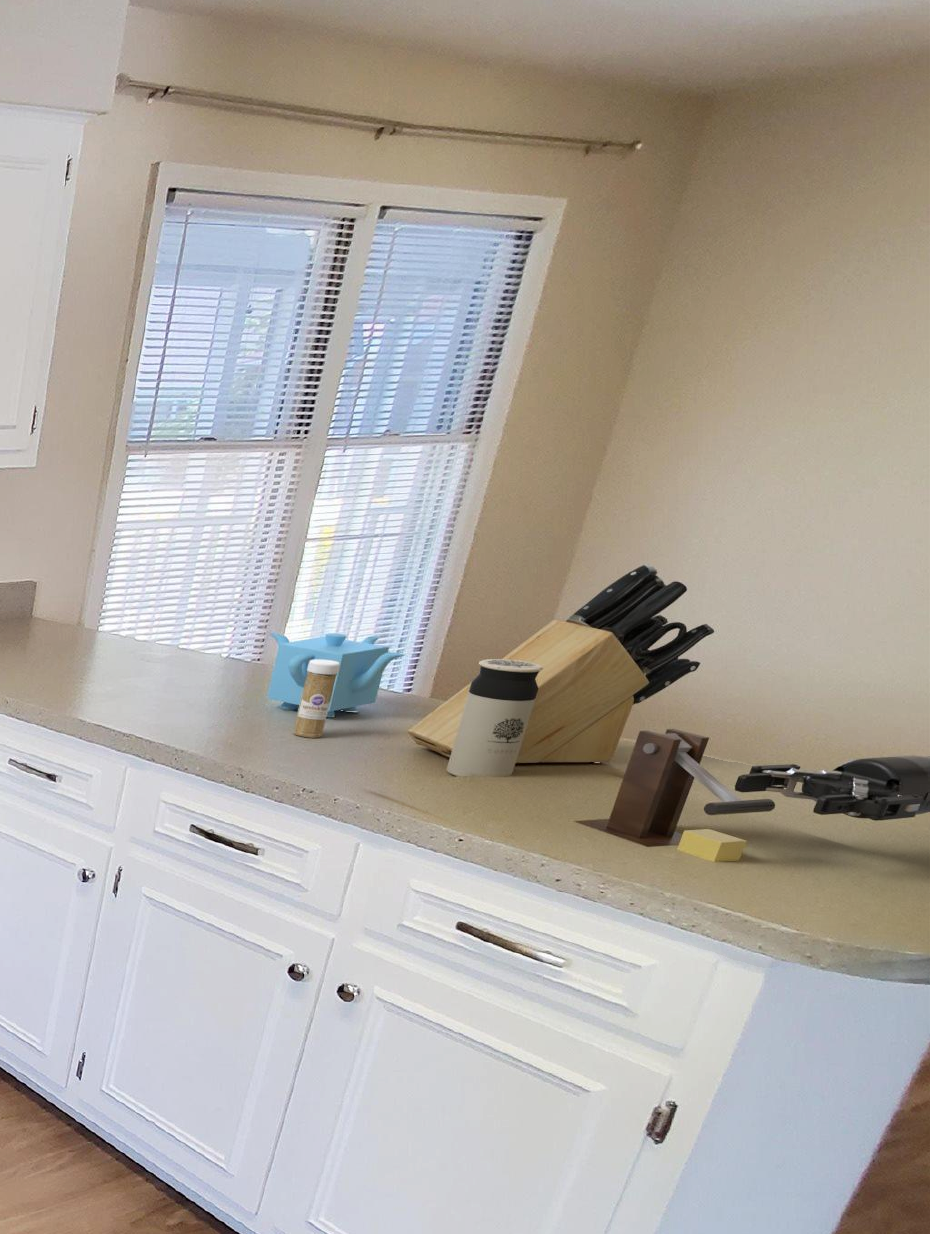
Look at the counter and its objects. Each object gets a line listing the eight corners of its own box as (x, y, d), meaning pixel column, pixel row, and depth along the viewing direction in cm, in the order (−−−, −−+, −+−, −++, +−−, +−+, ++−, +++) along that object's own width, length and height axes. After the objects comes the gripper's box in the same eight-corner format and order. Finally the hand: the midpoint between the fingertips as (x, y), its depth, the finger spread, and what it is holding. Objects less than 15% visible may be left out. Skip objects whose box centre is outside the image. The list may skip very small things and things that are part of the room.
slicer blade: (765, 816, 139) (781, 802, 137) (707, 820, 138) (723, 806, 136) (681, 745, 148) (695, 731, 146) (626, 748, 147) (640, 734, 145)
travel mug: (438, 766, 181) (469, 657, 175) (498, 770, 178) (532, 660, 172) (456, 781, 174) (489, 667, 168) (518, 785, 172) (554, 670, 165)
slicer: (706, 851, 146) (747, 742, 140) (644, 855, 145) (684, 746, 140) (628, 825, 155) (664, 722, 150) (569, 829, 154) (604, 725, 149)
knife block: (674, 764, 179) (745, 569, 168) (449, 767, 181) (505, 573, 169) (613, 745, 190) (676, 560, 178) (401, 747, 191) (450, 564, 180)
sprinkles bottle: (298, 738, 198) (315, 663, 193) (288, 731, 202) (304, 658, 197) (327, 738, 197) (345, 664, 192) (316, 732, 201) (333, 658, 196)
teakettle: (275, 718, 211) (292, 641, 205) (253, 695, 227) (268, 623, 222) (393, 725, 205) (415, 645, 199) (361, 700, 221) (380, 626, 216)
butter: (757, 871, 139) (769, 843, 138) (708, 874, 139) (719, 846, 137) (701, 852, 146) (711, 825, 144) (653, 855, 145) (663, 828, 144)
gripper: (836, 742, 144) (725, 749, 142) (981, 775, 131) (860, 783, 129) (814, 796, 147) (704, 804, 145) (953, 834, 133) (835, 843, 132)
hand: (778, 794), depth 137 cm, fingers open, 8 cm apart
